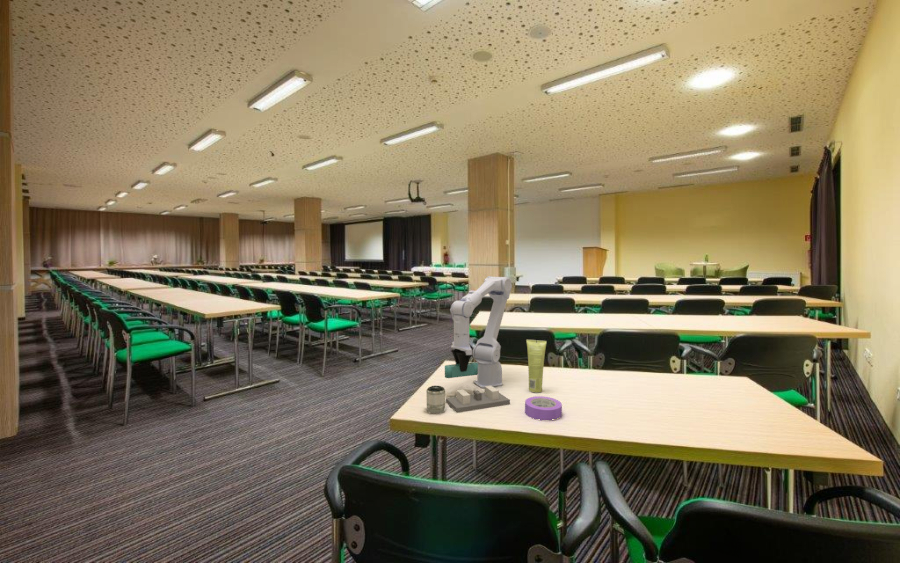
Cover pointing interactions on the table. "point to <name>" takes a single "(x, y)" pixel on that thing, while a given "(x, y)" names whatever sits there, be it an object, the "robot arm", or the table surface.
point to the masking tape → (543, 408)
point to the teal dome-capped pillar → (454, 371)
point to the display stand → (477, 400)
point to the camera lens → (435, 399)
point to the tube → (535, 364)
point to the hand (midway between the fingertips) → (461, 370)
